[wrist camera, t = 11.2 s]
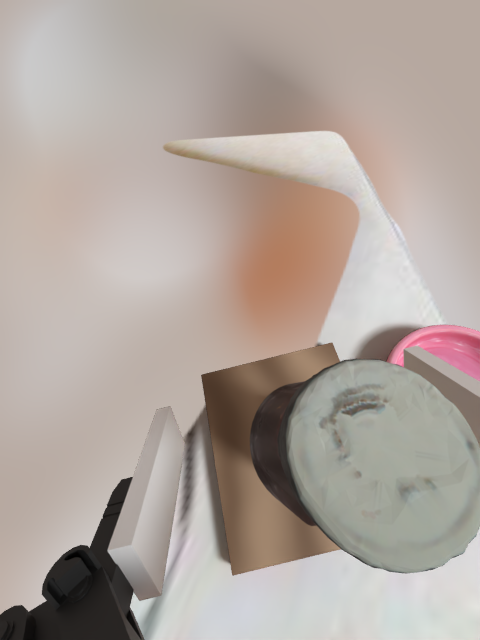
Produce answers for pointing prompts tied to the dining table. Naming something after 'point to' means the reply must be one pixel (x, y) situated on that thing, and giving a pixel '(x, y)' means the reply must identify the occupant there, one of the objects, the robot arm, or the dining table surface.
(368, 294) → the dining table surface
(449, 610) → the dining table surface
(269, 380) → the walnut serving board
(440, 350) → the saucer
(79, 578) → the robot arm
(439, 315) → the dining table surface
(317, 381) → the sauce bottle
